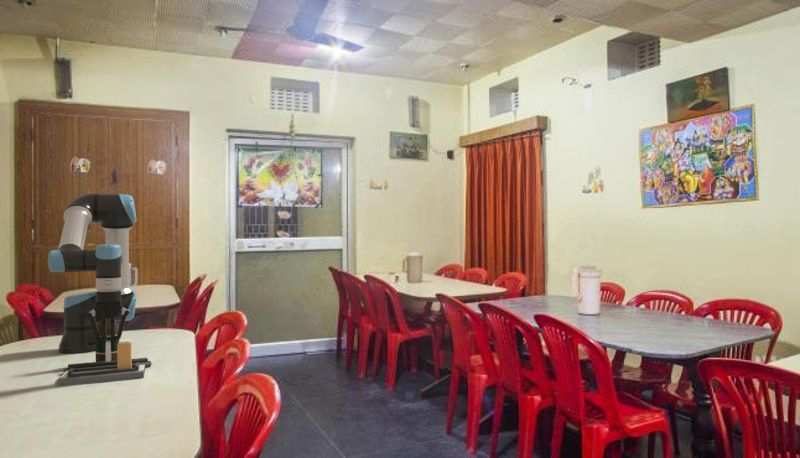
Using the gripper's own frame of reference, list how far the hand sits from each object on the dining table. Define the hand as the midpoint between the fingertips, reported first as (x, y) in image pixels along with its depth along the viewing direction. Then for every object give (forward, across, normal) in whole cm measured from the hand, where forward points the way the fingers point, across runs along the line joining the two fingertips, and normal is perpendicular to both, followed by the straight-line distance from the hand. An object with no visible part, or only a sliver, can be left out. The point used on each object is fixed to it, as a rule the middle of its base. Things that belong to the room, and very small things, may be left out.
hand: (108, 360), depth 182 cm
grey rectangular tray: (+5, -1, 0) cm, 6 cm away
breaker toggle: (+3, +5, 0) cm, 6 cm away
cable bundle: (+5, -1, +10) cm, 11 cm away
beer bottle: (+6, -2, +20) cm, 21 cm away
